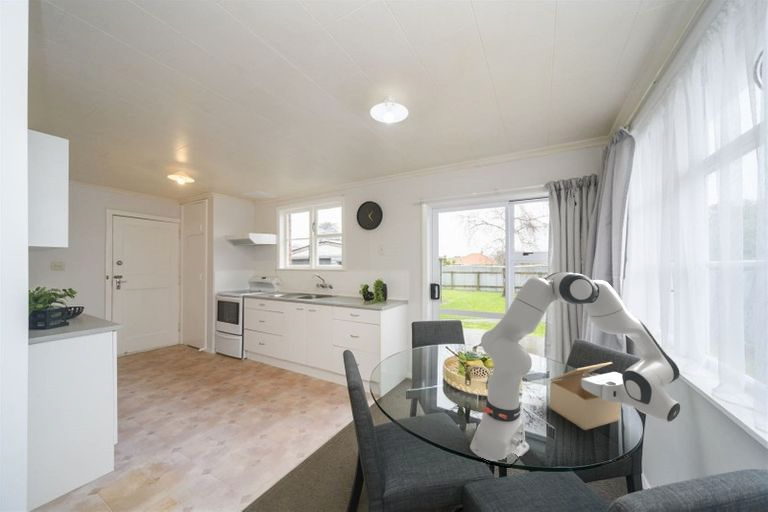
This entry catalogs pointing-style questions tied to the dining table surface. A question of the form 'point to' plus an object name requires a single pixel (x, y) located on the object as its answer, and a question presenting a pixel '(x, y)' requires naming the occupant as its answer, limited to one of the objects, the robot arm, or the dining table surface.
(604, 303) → the robot arm
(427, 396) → the dining table surface
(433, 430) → the dining table surface
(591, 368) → the carton flap
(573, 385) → the carton
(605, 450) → the dining table surface
